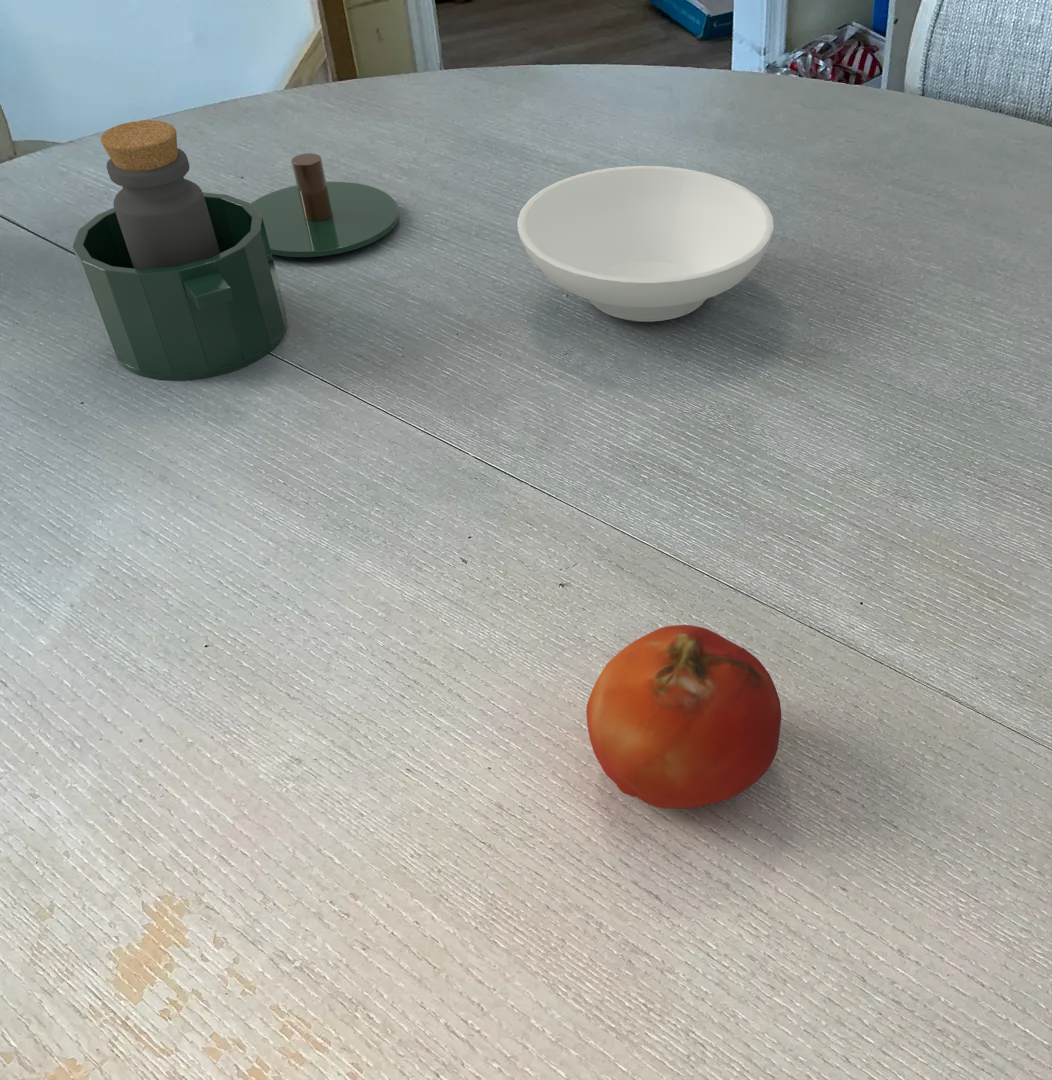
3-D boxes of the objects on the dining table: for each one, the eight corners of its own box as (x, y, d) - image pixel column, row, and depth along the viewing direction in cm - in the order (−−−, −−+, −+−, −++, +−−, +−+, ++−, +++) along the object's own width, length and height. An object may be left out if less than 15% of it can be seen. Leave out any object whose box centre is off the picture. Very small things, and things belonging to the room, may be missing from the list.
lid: (272, 279, 95) (254, 208, 91) (218, 216, 103) (199, 149, 99) (425, 237, 101) (415, 169, 97) (362, 180, 109) (350, 115, 105)
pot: (151, 418, 81) (112, 309, 75) (84, 307, 91) (45, 204, 86) (325, 363, 86) (301, 257, 80) (242, 264, 97) (216, 165, 91)
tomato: (553, 783, 58) (541, 674, 53) (661, 670, 64) (660, 562, 59) (707, 876, 55) (711, 769, 49) (808, 747, 60) (820, 639, 55)
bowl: (482, 337, 89) (472, 255, 85) (580, 226, 103) (576, 151, 99) (728, 385, 85) (731, 301, 81) (795, 262, 99) (801, 185, 95)
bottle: (140, 342, 87) (71, 145, 77) (186, 304, 91) (125, 111, 81) (212, 354, 86) (151, 155, 76) (254, 314, 90) (202, 121, 80)
